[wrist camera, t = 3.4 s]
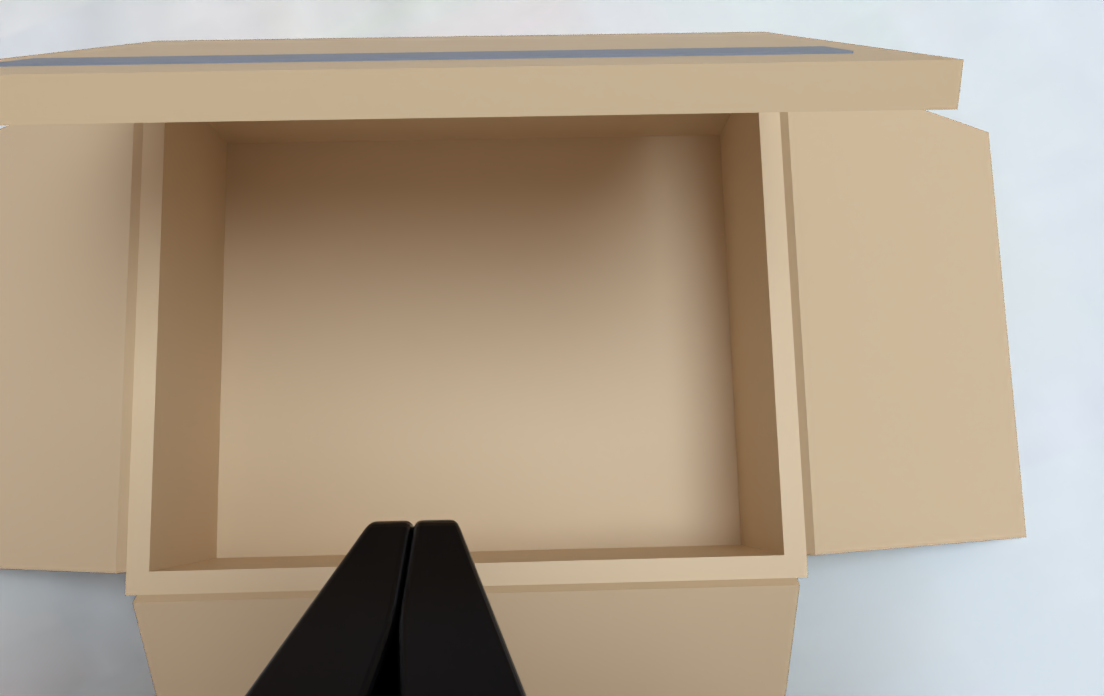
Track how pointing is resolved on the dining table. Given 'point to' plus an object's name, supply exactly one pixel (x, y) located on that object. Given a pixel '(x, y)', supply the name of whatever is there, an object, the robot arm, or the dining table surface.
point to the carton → (502, 372)
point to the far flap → (468, 78)
